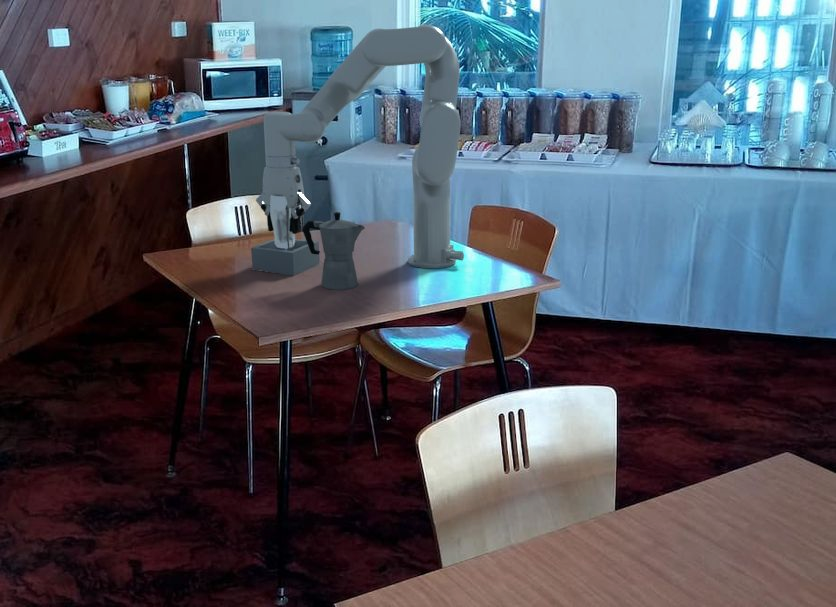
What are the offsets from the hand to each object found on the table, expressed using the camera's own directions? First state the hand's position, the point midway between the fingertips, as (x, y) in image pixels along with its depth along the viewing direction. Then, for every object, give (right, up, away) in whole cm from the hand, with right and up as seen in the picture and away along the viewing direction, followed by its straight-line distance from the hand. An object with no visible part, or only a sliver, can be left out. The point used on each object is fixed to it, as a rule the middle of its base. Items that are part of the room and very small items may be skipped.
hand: (284, 230), depth 235 cm
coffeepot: (+14, -14, -12) cm, 24 cm away
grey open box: (0, -9, +3) cm, 10 cm away
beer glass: (0, -5, +2) cm, 5 cm away
